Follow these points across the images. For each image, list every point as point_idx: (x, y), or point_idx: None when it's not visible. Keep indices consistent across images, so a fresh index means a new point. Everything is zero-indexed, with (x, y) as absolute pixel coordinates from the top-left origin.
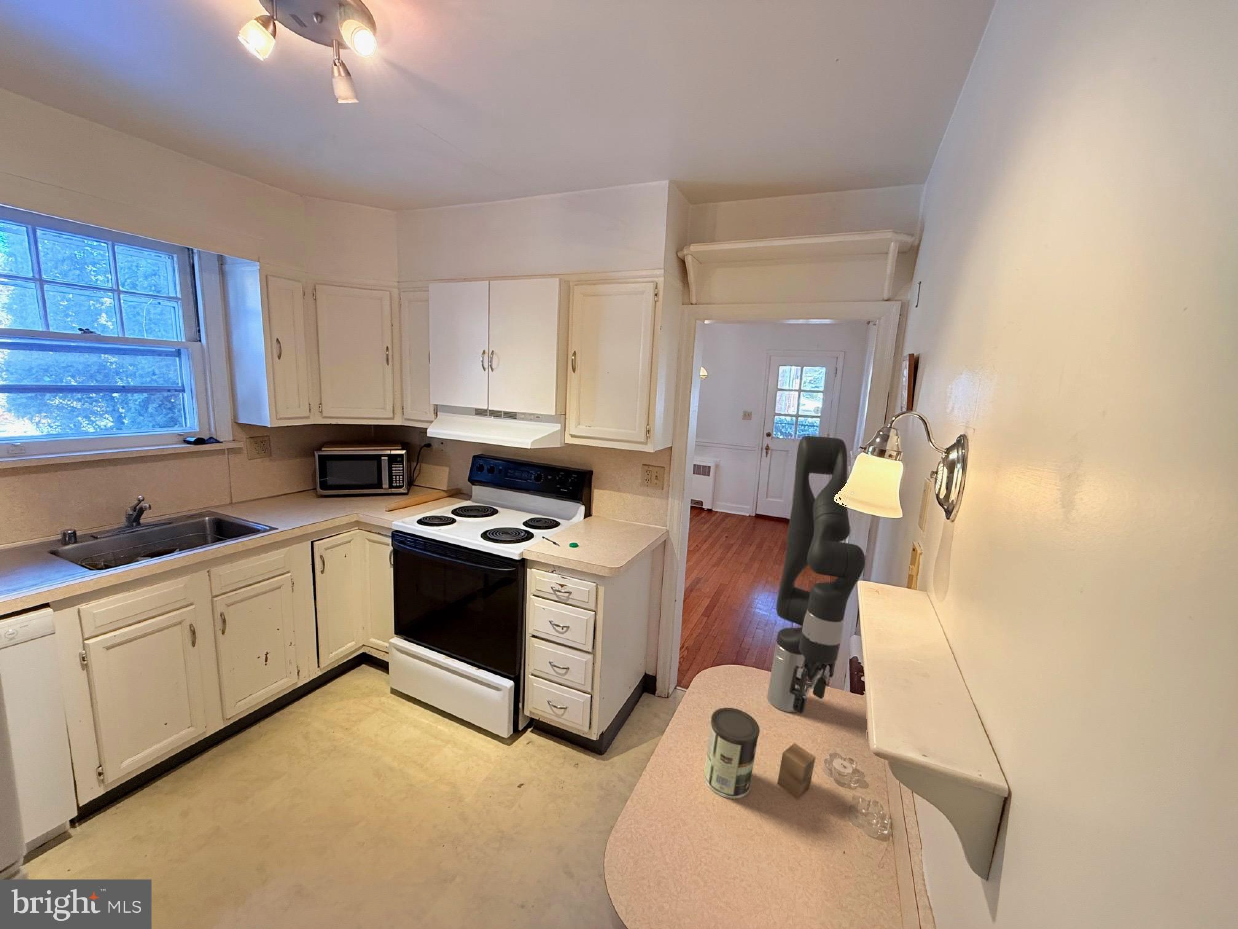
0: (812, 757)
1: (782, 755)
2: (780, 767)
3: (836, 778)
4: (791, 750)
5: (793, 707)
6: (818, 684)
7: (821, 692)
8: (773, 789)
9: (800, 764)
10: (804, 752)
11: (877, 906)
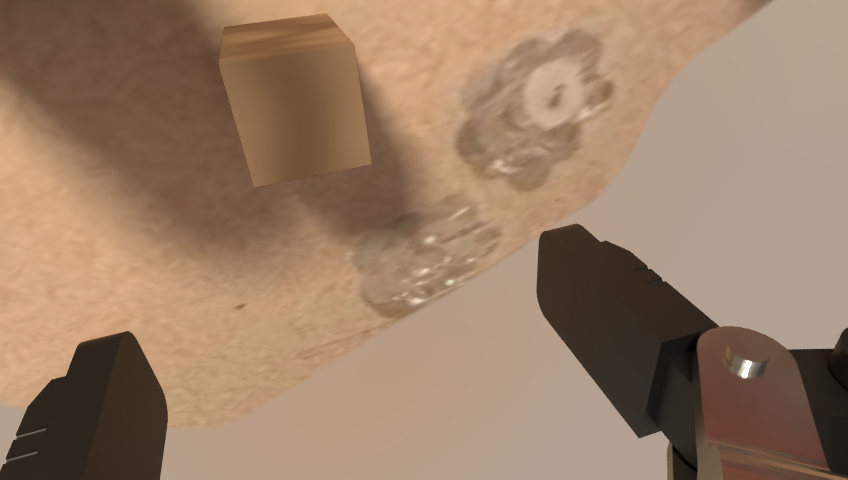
0: (354, 159)
1: (220, 60)
2: (222, 45)
3: (477, 123)
4: (284, 77)
5: (44, 391)
6: (621, 348)
7: (571, 338)
8: (183, 39)
9: (250, 168)
10: (344, 120)
11: (197, 412)
